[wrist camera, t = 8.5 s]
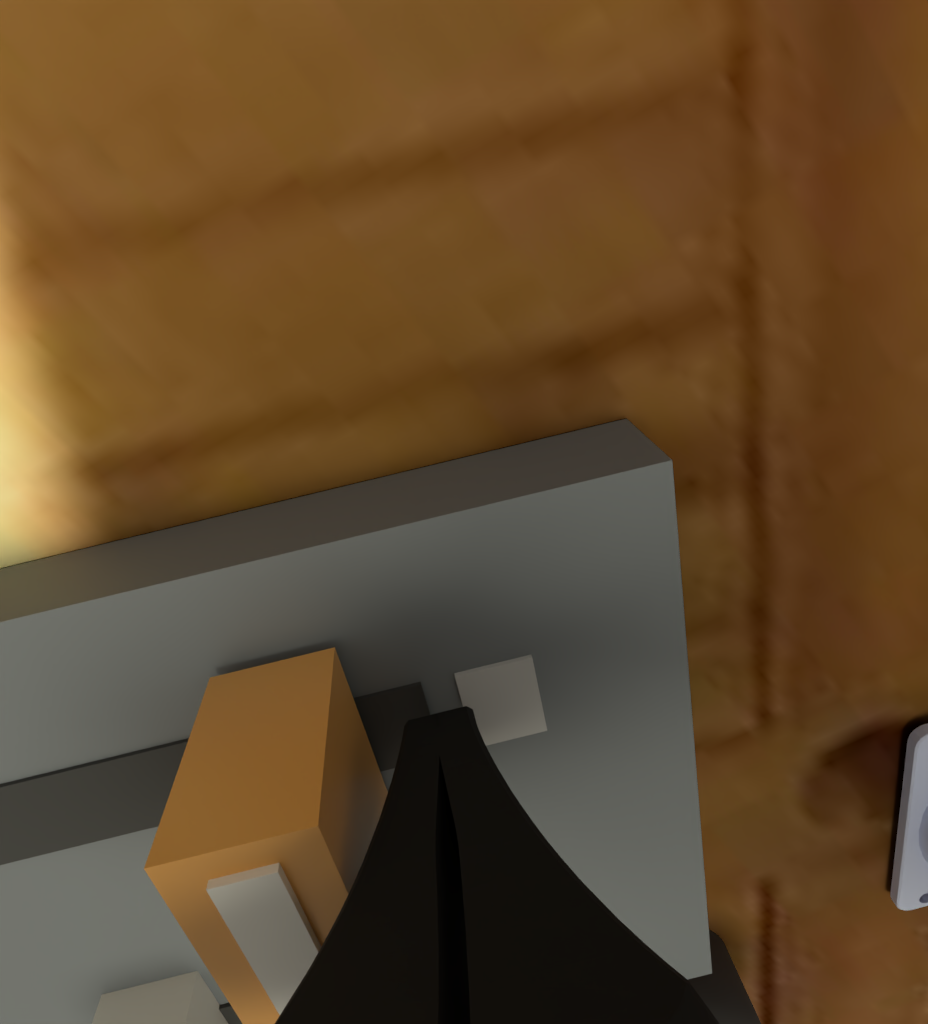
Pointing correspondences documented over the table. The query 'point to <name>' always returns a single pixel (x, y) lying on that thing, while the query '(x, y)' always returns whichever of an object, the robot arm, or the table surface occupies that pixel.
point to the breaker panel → (374, 686)
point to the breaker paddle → (268, 825)
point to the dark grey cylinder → (724, 988)
